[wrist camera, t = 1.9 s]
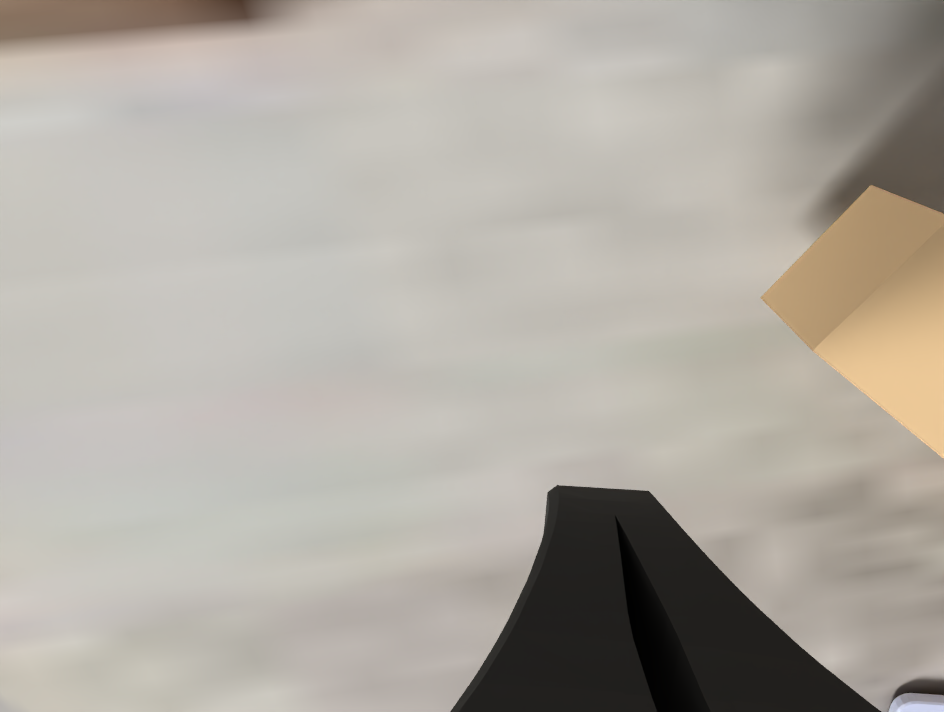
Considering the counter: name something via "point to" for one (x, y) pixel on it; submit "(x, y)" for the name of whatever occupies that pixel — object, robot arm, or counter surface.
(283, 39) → the counter surface
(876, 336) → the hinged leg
